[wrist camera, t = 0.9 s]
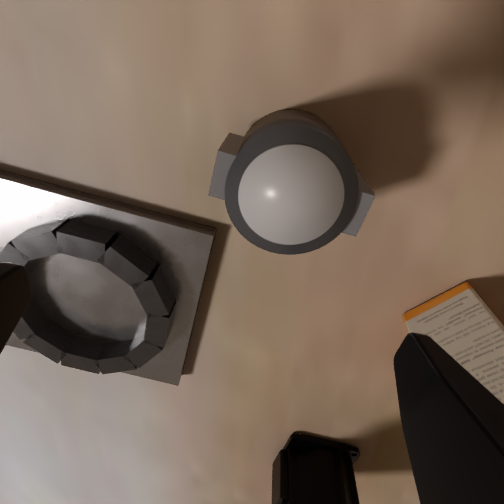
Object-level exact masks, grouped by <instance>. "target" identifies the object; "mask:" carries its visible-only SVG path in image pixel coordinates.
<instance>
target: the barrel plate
mask: <svg viewBox="0 0 504 504" xmlns="http://www.w3.org/2000/svg"><path fill="white" fill-rule="evenodd" d="M215 232H216V228H212V227H208V226H205V225H201V224H197V223H194V222H190V221H186V220H183V219H179V218H175V217H172V216H168V215H164V214H160V213H157V212H153V211H149V210H146V209H142V208H138V207H135V206H131V205H127V204H124V203H120V202H116V201H113V200H109V199H105V198H102V197H98V196H94V195H91V194H87V193H83V192H79V191H76V190H72V189H68V188H65V187H61V186H57V185H54V184H50V183H46V182H43V181H39V180H35V179H32V178H28V177H24V176H21V175H17V174H13V173H10V172H6V171H2V170H0V263H2V262H9V263H14V264H20V265H23V266H24V267H25V268H26V271H27V274H28V279H29V283H30V287H31V291H32V297H31V301H30V303H29V305H28V307H27V308H26V310H25V312H24V314H23V315H22V317H21V319H20V321H19V322H18V324H17V326H16V328H15V329H14V331H13V333H12V335H11V336H10V338H9V340H8V342H7V343H6V345H9V346H13V347H18V348H22V349H26V350H30V351H34V352H39V353H41V354H43V355H44V356H46V357H48V358H49V359H51V360H52V361H54V362H56V363H58V362H59V361H60V360H61V365H63V366H67V367H72V368H76V369H80V370H84V371H88V372H93V373H97V374H99V373H100V371H101V373H102V374H107V373H115V372H123V373H127V374H131V375H135V376H140V377H144V378H148V379H152V380H156V381H161V382H165V383H169V384H173V385H177V386H178V385H179V381H180V378H181V375H182V371H183V366H184V362H185V358H186V354H187V350H188V345H189V341H190V337H191V333H192V329H193V324H194V320H195V316H196V312H197V308H198V303H199V299H200V295H201V291H202V287H203V282H204V278H205V274H206V270H207V266H208V261H209V257H210V253H211V249H212V245H213V240H214V236H215Z"/></svg>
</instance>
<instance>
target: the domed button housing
mask: <svg viewBox="0 0 504 504" xmlns="http://www.w3.org/2000/svg"><path fill="white" fill-rule="evenodd" d="M208 195H209V196H212V197H216V198H219V199H223V200H225V204H226V208H227V212H228V214H229V217H230V219H231V221H232V223H233V224H234V226H235V227H236V229H237V230H238V231H239V232H240V234H241V235H242V236H243V237H244V238H246V239H247V240H248V241H249V242H251V243H252V244H254V245H256V246H257V247H259V248H261V249H264V250H266V251H269V252H273V253H278V254H287V255H288V254H302V253H306V252H310V251H313V250H316V249H319V248H320V247H322V246H324V245H326V244H328V243H329V242H331V241H332V240H334V239H335V238H336V237H337V236H338V235H339V234H340V233H341V232H342V233H345V234H349V235H352V236H356V235H357V233H358V231H359V229H360V227H361V225H362V223H363V221H364V219H365V217H366V214H367V212H368V210H369V208H370V206H371V204H372V202H373V200H374V198H375V194H374V193H373V191H372V190H371V188H370V187H369V185H368V184H367V182H366V181H365V179H364V178H363V176H362V175H361V173H360V172H359V170H356V169H355V167H354V165H353V163H352V161H351V159H350V157H349V156H348V154H347V153H346V151H345V150H344V148H343V147H342V145H341V144H340V142H339V140H338V139H337V137H336V136H335V134H334V133H333V131H332V130H331V129H330V127H329V126H328V125H327V124H326V123H325V122H324V121H323V120H321V119H320V118H319V117H317V116H315V115H313V114H311V113H309V112H306V111H302V110H296V109H286V110H280V111H276V112H273V113H270V114H268V115H266V116H264V117H262V118H261V119H260V120H258V121H257V122H256V123H255V124H254V125H253V126H252V127H251V128H250V129H249V130H248V131H247V133H246V135H245V136H244V137H243V136H239V135H236V134H233V133H229V134H228V136H227V137H226V139H225V140H224V142H223V143H222V145H221V146H220V148H219V150H218V152H217V157H216V162H215V166H214V171H213V176H212V180H211V185H210V190H209V194H208Z"/></svg>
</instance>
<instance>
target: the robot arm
mask: <svg viewBox="0 0 504 504" xmlns="http://www.w3.org/2000/svg"><path fill="white" fill-rule="evenodd" d="M31 297H32V291H31V287H30V283H29V279H28V274H27V271H26V268H25V267H24V266H23V265H20V264H14V263H9V262H2V263H0V354H1V352H2V350H3V349H4V347H5V345H6V343H7V342H8V340H9V338H10V336H11V335H12V333H13V331H14V329H15V328H16V326H17V324H18V322H19V321H20V319H21V317H22V315H23V314H24V312H25V310H26V308H27V307H28V305H29V303H30V301H31ZM394 371H395V378H396V386H397V393H398V401H399V409H400V416H401V422H402V428H403V432H404V437H405V441H406V445H407V450H408V454H409V458H410V462H411V466H412V470H413V475H414V479H415V483H416V487H417V491H418V495H419V500H420V504H504V404H503V403H502V402H501V401H500V400H499V399H497V398H496V397H495V396H494V395H493V394H492V393H491V392H490V391H489V390H488V389H487V388H485V387H484V386H483V385H482V384H481V383H480V382H479V381H478V380H477V379H476V378H474V377H473V376H472V375H471V374H470V373H469V372H468V371H467V370H466V369H465V368H464V367H462V366H461V365H460V364H459V363H458V362H457V361H456V360H455V359H454V358H453V357H452V356H450V355H449V354H448V353H447V352H446V351H445V350H444V349H443V348H442V347H441V346H439V345H438V344H437V343H436V342H435V341H434V340H433V339H432V338H431V337H429V336H428V335H425V334H420V333H414V332H411V333H409V334H407V336H406V337H405V339H404V340H403V342H402V344H401V345H400V347H399V349H398V350H397V352H396V354H395V356H394ZM359 456H360V452H359V449H358V448H356V447H352V446H348V445H343V444H339V443H335V442H330V441H326V440H322V439H318V438H313V437H309V436H305V435H300V434H292V435H291V436H290V437H289V439H288V441H287V443H286V444H285V446H284V448H283V449H282V450H281V451H280V452H279V454H278V455H277V457H276V459H275V461H274V462H273V470H272V504H359V498H358V492H357V487H356V481H355V475H354V469H353V464H354V462H355V461H356V460H357V459H358V457H359Z"/></svg>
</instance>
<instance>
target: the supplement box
mask: <svg viewBox="0 0 504 504" xmlns="http://www.w3.org/2000/svg"><path fill="white" fill-rule="evenodd" d="M403 319H404V321H405V323H406V326H407V328H408V330H409V333H411V332H414V333H420V334H425V335H428V336H429V337H431V338H432V339H433V340H434V341H435V342H436V343H437V344H438V345H439V346H441V347H442V348H443V349H444V350H445V351H446V352H447V353H448V354H449V355H450V356H452V357H453V358H454V359H455V360H456V361H457V362H458V363H459V364H460V365H461V366H462V367H464V368H465V369H466V370H467V371H468V372H469V373H470V374H471V375H472V376H473V377H474V378H476V379H477V380H478V381H479V382H480V383H481V384H482V385H483V386H484V387H485V388H487V389H488V390H489V391H490V392H491V393H492V394H493V395H494V396H495V397H496V398H497V399H499V400H500V401H501V402H502V403H503V404H504V326H503V325H502V324H501V322H500V321H499V320H498V319H497V317H496V316H495V315H494V314H493V313H492V311H491V310H490V309H489V308H488V306H487V305H486V304H485V303H484V301H483V300H482V299H481V298H480V296H479V295H478V294H477V293H476V292H475V290H474V289H473V288H472V287H471V285H470V284H469V283H468V282H464V283H462V284H460V285H458V286H456V287H454V288H452V289H450V290H449V291H446V292H444V293H443V294H440V295H438V296H437V297H435V298H433V299H430V300H429V301H427V302H425V303H423V304H421V305H420V306H418V307H416V308H414V309H412V310H410V311H408V312H406V313H404V314H403Z"/></svg>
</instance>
